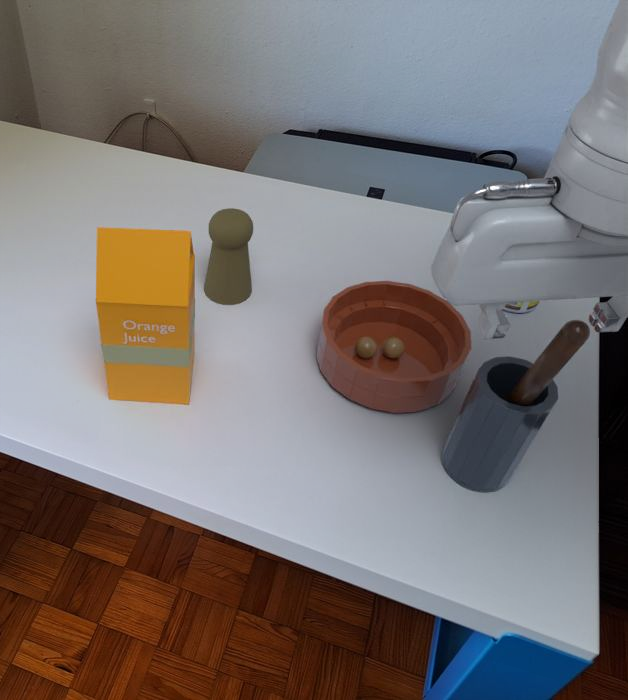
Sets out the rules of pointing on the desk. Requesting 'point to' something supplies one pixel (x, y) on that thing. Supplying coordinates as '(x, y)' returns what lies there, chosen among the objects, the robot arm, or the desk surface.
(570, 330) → the stir paddle
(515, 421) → the crock
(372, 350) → the bead
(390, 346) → the bead
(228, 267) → the olive game pawn
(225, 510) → the desk surface
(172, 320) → the orange juice
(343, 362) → the bowl
